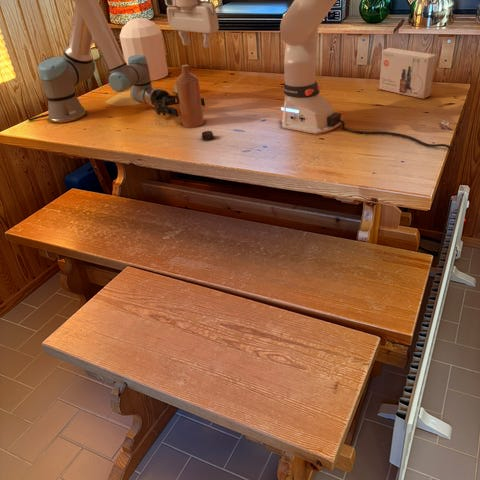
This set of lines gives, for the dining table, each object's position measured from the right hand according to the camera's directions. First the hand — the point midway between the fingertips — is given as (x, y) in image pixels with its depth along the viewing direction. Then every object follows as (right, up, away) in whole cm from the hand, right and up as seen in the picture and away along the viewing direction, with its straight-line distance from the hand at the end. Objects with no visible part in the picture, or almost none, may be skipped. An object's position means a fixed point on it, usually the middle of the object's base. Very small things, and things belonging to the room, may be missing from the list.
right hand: (196, 46), depth 149 cm
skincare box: (+81, -2, +40) cm, 90 cm away
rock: (-11, +6, +66) cm, 67 cm away
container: (-34, +24, +95) cm, 104 cm away
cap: (+2, -24, +17) cm, 30 cm away
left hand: (-5, -12, +28) cm, 31 cm away
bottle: (-4, -17, +32) cm, 36 cm away
